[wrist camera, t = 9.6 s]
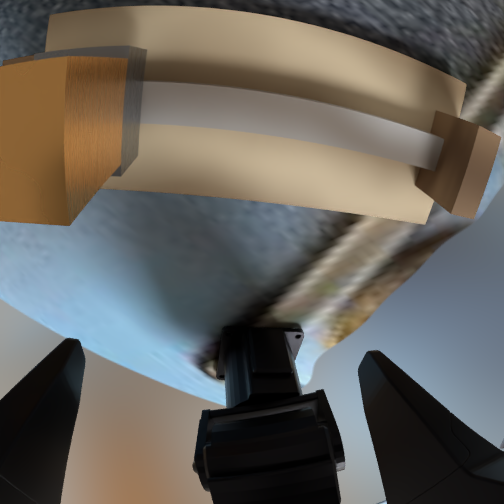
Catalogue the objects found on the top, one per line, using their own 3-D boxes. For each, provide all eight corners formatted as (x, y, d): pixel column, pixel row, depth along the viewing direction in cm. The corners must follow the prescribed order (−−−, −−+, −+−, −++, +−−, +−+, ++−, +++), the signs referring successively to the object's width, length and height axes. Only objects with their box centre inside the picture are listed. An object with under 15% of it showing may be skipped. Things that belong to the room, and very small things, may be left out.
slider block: (138, 155, 14) (71, 243, 7) (62, 153, 13) (-37, 233, 7) (147, 49, 11) (70, 34, 5) (66, 53, 11) (-53, 62, 4)
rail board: (414, 214, 21) (457, 256, 16) (55, 177, 17) (11, 217, 12) (452, 81, 16) (510, 95, 11) (61, 17, 12) (9, 7, 7)
